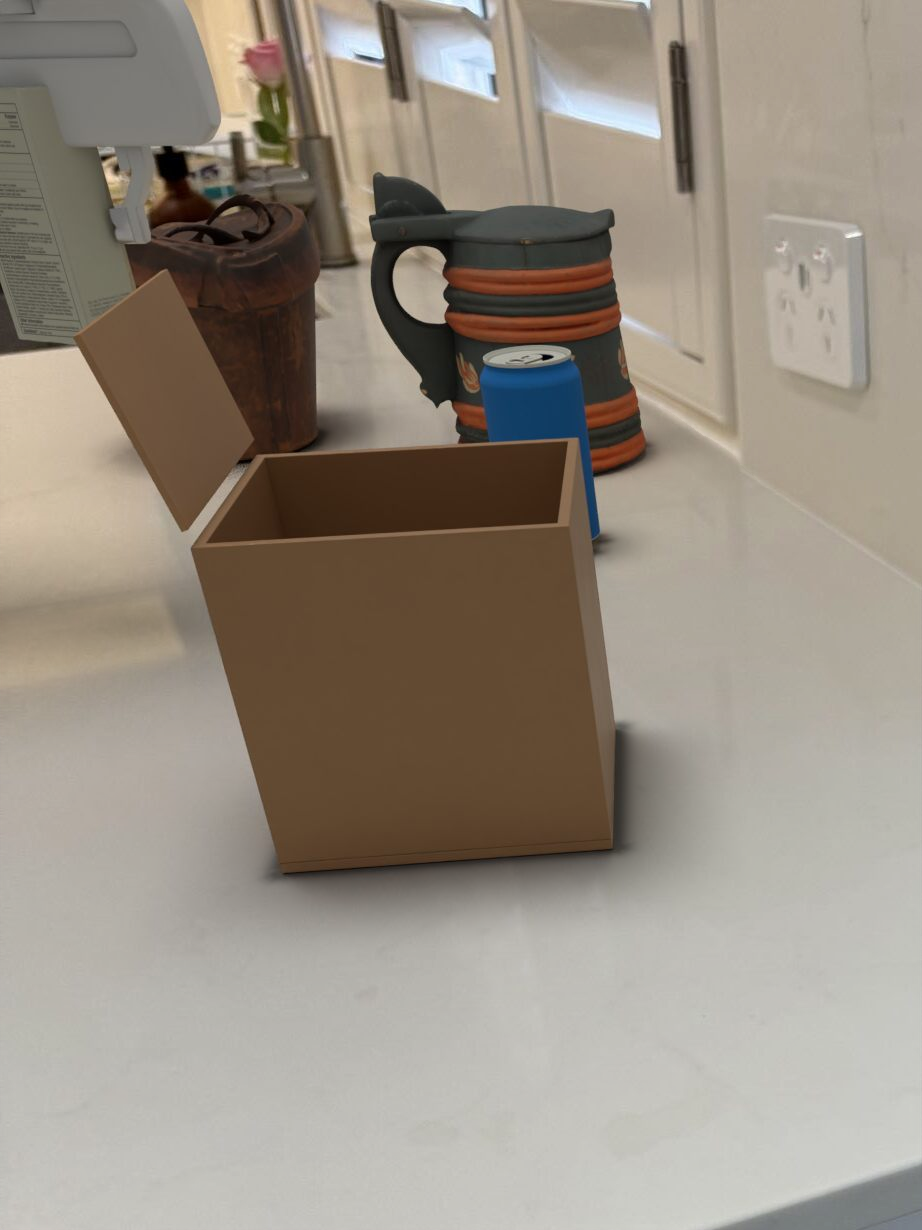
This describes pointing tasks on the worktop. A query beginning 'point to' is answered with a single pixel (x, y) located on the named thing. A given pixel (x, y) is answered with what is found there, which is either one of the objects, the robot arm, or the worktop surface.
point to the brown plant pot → (249, 309)
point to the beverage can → (538, 403)
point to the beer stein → (509, 305)
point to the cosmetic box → (54, 224)
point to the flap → (167, 394)
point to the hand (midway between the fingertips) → (57, 244)
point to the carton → (416, 652)
